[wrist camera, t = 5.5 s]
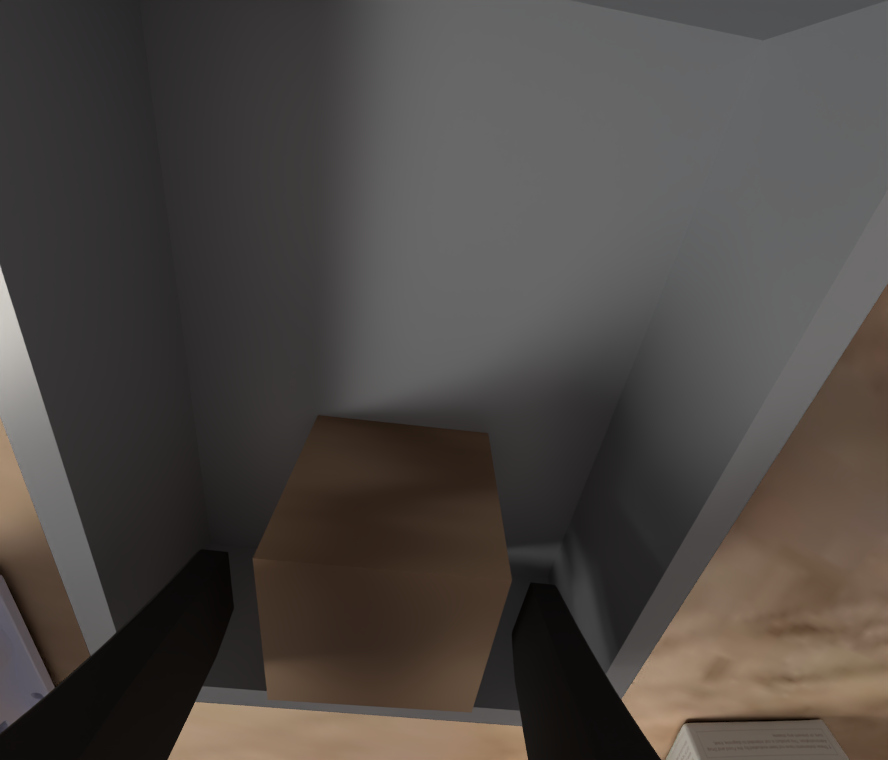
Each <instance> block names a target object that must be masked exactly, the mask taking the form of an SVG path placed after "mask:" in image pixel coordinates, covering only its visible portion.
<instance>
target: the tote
mask: <svg viewBox="0 0 888 760" xmlns="http://www.w3.org/2000/svg"><path fill="white" fill-rule="evenodd" d="M887 284H888V0H0V417H1V420H2V422H3V425H4V428H5V430H6V433H7V436H8V438H9V441H10V444H11V446H12V449H13V452H14V454H15V457H16V460H17V462H18V465H19V468H20V470H21V473H22V475H23V478H24V481H25V483H26V486H27V489H28V491H29V494H30V497H31V499H32V502H33V505H34V507H35V510H36V513H37V515H38V518H39V521H40V523H41V526H42V528H43V531H44V534H45V536H46V539H47V542H48V544H49V547H50V550H51V552H52V555H53V558H54V560H55V563H56V566H57V568H58V571H59V574H60V576H61V579H62V581H63V584H64V587H65V589H66V592H67V595H68V597H69V600H70V603H71V605H72V608H73V611H74V613H75V616H76V619H77V621H78V624H79V627H80V629H81V632H82V634H83V637H84V640H85V642H86V645H87V648H88V650H89V653H90V656H91V655H92V654H94V653H95V652H96V651H97V650H98V649H99V648H100V647H101V646H102V645H103V644H105V643H106V642H107V641H108V640H109V639H110V638H111V637H112V636H113V635H114V634H115V633H116V632H117V631H118V630H119V629H120V628H121V627H122V626H124V625H125V624H126V623H127V622H128V621H129V620H130V619H131V618H132V617H133V616H134V615H135V614H136V613H137V612H138V611H139V610H140V609H141V608H142V607H143V606H144V605H145V604H146V603H147V602H148V601H149V600H150V599H151V598H152V597H153V596H154V595H155V594H156V593H157V592H158V591H159V590H160V589H161V588H162V587H163V586H164V585H165V584H166V583H167V582H168V581H169V580H170V579H171V578H172V577H173V576H174V575H175V574H176V573H177V572H178V571H179V570H180V569H181V568H182V567H183V566H184V565H185V564H186V563H187V562H188V561H189V560H190V559H191V557H192V556H193V555H194V554H195V553H196V552H198V551H199V550H201V549H205V550H215V551H225V552H228V555H229V564H230V574H231V583H232V593H233V602H234V610H233V612H232V615H231V618H230V621H229V624H228V627H227V630H226V632H225V635H224V638H223V641H222V643H221V646H220V649H219V651H218V654H217V657H216V659H215V661H214V663H213V665H212V667H211V669H210V672H209V674H208V676H207V678H206V680H205V682H204V684H203V686H202V688H201V691H200V693H199V695H198V697H197V699H196V701H195V702H205V703H218V704H232V705H245V706H259V707H272V708H285V709H299V710H312V711H326V712H339V713H353V714H366V715H379V716H393V717H406V718H420V719H433V720H446V721H460V722H473V723H487V724H500V725H513V726H522V721H521V715H520V709H519V703H518V697H517V691H516V685H515V677H514V664H513V649H512V631H513V628H514V625H515V623H516V620H517V617H518V615H519V612H520V609H521V606H522V604H523V601H524V598H525V596H526V593H527V590H528V588H529V585H530V582H532V583H542V584H552V585H555V586H556V587H557V588H558V590H559V592H560V594H561V596H562V598H563V599H564V601H565V603H566V605H567V607H568V609H569V611H570V613H571V614H572V616H573V618H574V620H575V622H576V624H577V626H578V627H579V629H580V631H581V633H582V634H583V636H584V638H585V640H586V642H587V643H588V645H589V647H590V649H591V650H592V652H593V654H594V656H595V657H596V659H597V661H598V662H599V664H600V666H601V667H602V669H603V671H604V672H605V674H606V676H607V677H608V679H609V681H610V682H611V684H612V686H613V687H614V689H615V691H616V692H617V694H618V695H619V697H620V699H622V697H623V696H624V694H625V693H626V691H627V689H628V688H629V686H630V685H631V683H632V682H633V680H634V679H635V677H636V675H637V674H638V672H639V671H640V669H641V668H642V666H643V664H644V663H645V661H646V660H647V658H648V657H649V655H650V654H651V652H652V650H653V649H654V647H655V646H656V644H657V643H658V641H659V640H660V638H661V636H662V635H663V633H664V632H665V630H666V629H667V627H668V625H669V624H670V622H671V621H672V619H673V618H674V616H675V615H676V613H677V611H678V610H679V608H680V607H681V605H682V604H683V602H684V600H685V599H686V597H687V596H688V594H689V593H690V591H691V590H692V588H693V586H694V585H695V583H696V582H697V580H698V579H699V577H700V576H701V574H702V572H703V571H704V569H705V568H706V566H707V565H708V563H709V561H710V560H711V558H712V557H713V555H714V554H715V552H716V551H717V549H718V547H719V546H720V544H721V543H722V541H723V540H724V538H725V536H726V535H727V533H728V532H729V530H730V529H731V527H732V526H733V524H734V522H735V521H736V519H737V518H738V516H739V515H740V513H741V512H742V510H743V508H744V507H745V505H746V504H747V502H748V501H749V499H750V497H751V496H752V494H753V493H754V491H755V490H756V488H757V487H758V485H759V483H760V482H761V480H762V479H763V477H764V476H765V474H766V472H767V471H768V469H769V468H770V466H771V465H772V463H773V462H774V460H775V458H776V457H777V455H778V454H779V452H780V451H781V449H782V448H783V446H784V444H785V443H786V441H787V440H788V438H789V437H790V435H791V433H792V432H793V430H794V429H795V427H796V426H797V424H798V423H799V421H800V419H801V418H802V416H803V415H804V413H805V412H806V410H807V408H808V407H809V405H810V404H811V402H812V401H813V399H814V398H815V396H816V394H817V393H818V391H819V390H820V388H821V387H822V385H823V384H824V382H825V380H826V379H827V377H828V376H829V374H830V373H831V371H832V369H833V368H834V366H835V365H836V363H837V362H838V360H839V359H840V357H841V355H842V354H843V352H844V351H845V349H846V348H847V346H848V344H849V343H850V341H851V340H852V338H853V337H854V335H855V334H856V332H857V330H858V329H859V327H860V326H861V324H862V323H863V321H864V320H865V318H866V316H867V315H868V313H869V312H870V310H871V309H872V307H873V305H874V304H875V302H876V301H877V299H878V298H879V296H880V295H881V293H882V291H883V290H884V288H885V287H886V285H887ZM318 415H322V416H331V417H341V418H350V419H360V420H369V421H379V422H388V423H397V424H407V425H416V426H426V427H435V428H445V429H454V430H464V431H473V432H483V433H488V435H489V441H490V448H491V454H492V460H493V466H494V472H495V478H496V485H497V491H498V497H499V503H500V509H501V515H502V522H503V528H504V534H505V540H506V546H507V552H508V559H509V565H510V571H511V577H512V582H511V585H510V588H509V592H508V595H507V598H506V601H505V605H504V608H503V611H502V614H501V618H500V621H499V624H498V628H497V631H496V634H495V637H494V641H493V644H492V647H491V650H490V654H489V657H488V660H487V664H486V667H485V670H484V673H483V677H482V680H481V683H480V687H479V690H478V693H477V696H476V700H475V703H474V706H473V709H472V713H469V712H454V711H438V710H422V709H406V708H390V707H374V706H358V705H342V704H326V703H310V702H294V701H278V700H268V698H267V688H266V679H265V669H264V660H263V651H262V641H261V632H260V623H259V613H258V604H257V594H256V585H255V576H254V566H253V557H254V554H255V552H256V550H257V548H258V546H259V543H260V541H261V539H262V537H263V535H264V532H265V530H266V528H267V526H268V524H269V521H270V519H271V517H272V515H273V513H274V510H275V508H276V506H277V504H278V502H279V499H280V497H281V495H282V493H283V491H284V488H285V486H286V484H287V482H288V480H289V477H290V475H291V473H292V471H293V469H294V466H295V464H296V462H297V460H298V458H299V455H300V453H301V451H302V449H303V447H304V444H305V442H306V440H307V438H308V436H309V433H310V431H311V429H312V427H313V425H314V422H315V420H316V418H317V416H318Z"/></svg>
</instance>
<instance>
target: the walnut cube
mask: <svg viewBox="0 0 888 760" xmlns="http://www.w3.org/2000/svg"><path fill="white" fill-rule="evenodd" d="M253 566H254V576H255V585H256V594H257V604H258V613H259V623H260V632H261V641H262V651H263V660H264V669H265V679H266V688H267V698H268V700H278V701H294V702H310V703H326V704H342V705H358V706H374V707H390V708H406V709H422V710H438V711H454V712H469V713H472V709H473V706H474V703H475V700H476V696H477V693H478V690H479V687H480V683H481V680H482V677H483V673H484V670H485V667H486V664H487V660H488V657H489V654H490V650H491V647H492V644H493V641H494V637H495V634H496V631H497V628H498V624H499V621H500V618H501V614H502V611H503V608H504V605H505V601H506V598H507V595H508V592H509V588H510V585H511V582H512V577H511V571H510V565H509V559H508V552H507V546H506V540H505V534H504V528H503V522H502V515H501V509H500V503H499V497H498V491H497V485H496V478H495V472H494V466H493V460H492V454H491V448H490V441H489V435H488V433H483V432H473V431H464V430H454V429H445V428H435V427H426V426H416V425H407V424H397V423H388V422H379V421H369V420H360V419H350V418H341V417H331V416H322V415H318V416H317V418H316V420H315V422H314V425H313V427H312V429H311V431H310V433H309V436H308V438H307V440H306V442H305V444H304V447H303V449H302V451H301V453H300V455H299V458H298V460H297V462H296V464H295V466H294V469H293V471H292V473H291V475H290V477H289V480H288V482H287V484H286V486H285V488H284V491H283V493H282V495H281V497H280V499H279V502H278V504H277V506H276V508H275V510H274V513H273V515H272V517H271V519H270V521H269V524H268V526H267V528H266V530H265V532H264V535H263V537H262V539H261V541H260V543H259V546H258V548H257V550H256V552H255V554H254V557H253Z"/></svg>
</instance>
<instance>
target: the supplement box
mask: <svg viewBox="0 0 888 760" xmlns="http://www.w3.org/2000/svg"><path fill="white" fill-rule="evenodd" d="M666 760H849V758H848V757H847V755H846V754H845V752H844V751H843V749H842V748H841V746H840V745H839V743H838V742H837V740H836V739H835V737H834V736H833V734H832V733H831V731H830V730H829V729H828V727H827V726H826V724H825V723H824V721H823V720H820V719H817V720H799V721H762V722H714V723H685V724H684V725H683V726H682V728H681V730H680V732H679V734H678V736H677V738H676V740H675V742H674V744H673V746H672V748H671V750H670V752H669V754H668V756H667V758H666Z"/></svg>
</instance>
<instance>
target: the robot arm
mask: <svg viewBox="0 0 888 760" xmlns="http://www.w3.org/2000/svg"><path fill="white" fill-rule="evenodd" d="M233 610H234V602H233V593H232V583H231V574H230V564H229V555H228V552H225V551H215V550H205V549H201V550H199V551H198V552H196V553H195V554H194V555H193V556H192V557H191V559H190V560H189V561H188V562H187V563H186V564H185V565H184V566H183V567H182V568H181V569H180V570H179V571H178V572H177V573H176V574H175V575H174V576H173V577H172V578H171V579H170V580H169V581H168V582H167V583H166V584H165V585H164V586H163V587H162V588H161V589H160V590H159V591H158V592H157V593H156V594H155V595H154V596H153V597H152V598H151V599H150V600H149V601H148V602H147V603H146V604H145V605H144V606H143V607H142V608H141V609H140V610H139V611H138V612H137V613H136V614H135V615H134V616H133V617H132V618H131V619H130V620H129V621H128V622H127V623H126V624H125V625H124V626H122V627H121V628H120V629H119V630H118V631H117V632H116V633H115V634H114V635H113V636H112V637H111V638H110V639H109V640H108V641H107V642H106V643H105V644H103V645H102V646H101V647H100V648H99V649H98V650H97V651H96V652H95V653H94V654H92V655H91V656H90V657H89V658H88V659H87V660H86V661H85V662H83V663H82V664H81V665H80V666H79V667H78V668H77V669H76V670H74V671H73V672H72V673H71V674H70V675H69V676H68V677H67V678H66V679H64V680H63V681H62V682H61V683H60V684H59V685H58V686H56V687H55V686H54V684H53V682H52V680H51V678H50V676H49V674H48V672H47V669H46V667H45V665H44V663H43V661H42V659H41V657H40V655H39V652H38V650H37V648H36V646H35V644H34V642H33V640H32V637H31V635H30V633H29V631H28V629H27V627H26V625H25V623H24V620H23V618H22V616H21V614H20V612H19V610H18V608H17V606H16V603H15V601H14V599H13V597H12V595H11V593H10V591H9V588H8V586H7V584H6V582H5V580H4V578H3V577H2V575H1V574H0V760H167V759H168V757H169V755H170V753H171V751H172V749H173V747H174V745H175V743H176V741H177V739H178V736H179V734H180V732H181V730H182V728H183V726H184V724H185V722H186V720H187V718H188V716H189V714H190V711H191V709H192V707H193V705H194V703H195V701H196V699H197V697H198V695H199V693H200V691H201V688H202V686H203V684H204V682H205V680H206V678H207V676H208V674H209V672H210V669H211V667H212V665H213V663H214V661H215V659H216V657H217V654H218V651H219V649H220V646H221V643H222V641H223V638H224V635H225V632H226V630H227V627H228V624H229V621H230V618H231V615H232V612H233ZM512 649H513V664H514V677H515V685H516V691H517V697H518V703H519V709H520V715H521V721H522V727H523V733H524V738H525V744H526V750H527V756H528V760H661V759H660V757H659V756H658V755H657V753H656V752H655V750H654V749H653V747H652V746H651V744H650V743H649V741H648V740H647V739H646V737H645V736H644V734H643V733H642V731H641V730H640V728H639V726H638V725H637V723H636V722H635V720H634V719H633V717H632V716H631V714H630V713H629V711H628V710H627V708H626V707H625V705H624V703H623V702H622V700H621V699H620V697H619V695H618V694H617V692H616V691H615V689H614V687H613V686H612V684H611V682H610V681H609V679H608V677H607V676H606V674H605V672H604V671H603V669H602V667H601V666H600V664H599V662H598V661H597V659H596V657H595V656H594V654H593V652H592V650H591V649H590V647H589V645H588V643H587V642H586V640H585V638H584V636H583V634H582V633H581V631H580V629H579V627H578V626H577V624H576V622H575V620H574V618H573V616H572V614H571V613H570V611H569V609H568V607H567V605H566V603H565V601H564V599H563V598H562V596H561V594H560V592H559V590H558V588H557V587H556V586H555V585H552V584H542V583H532V582H530V585H529V588H528V590H527V593H526V596H525V598H524V601H523V604H522V606H521V609H520V612H519V615H518V617H517V620H516V623H515V625H514V628H513V631H512Z"/></svg>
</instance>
